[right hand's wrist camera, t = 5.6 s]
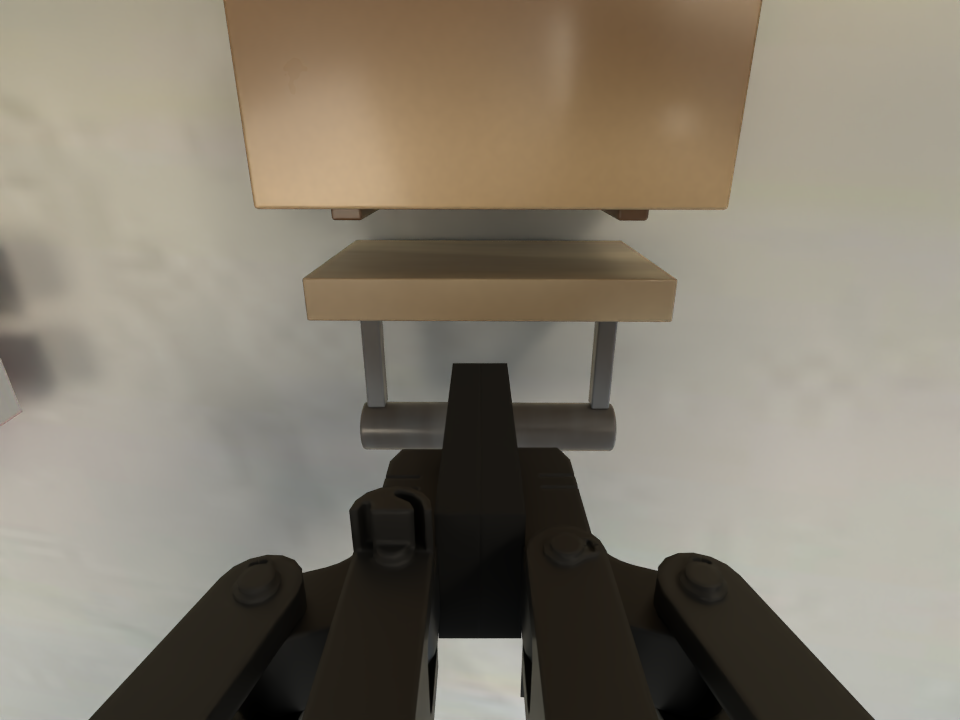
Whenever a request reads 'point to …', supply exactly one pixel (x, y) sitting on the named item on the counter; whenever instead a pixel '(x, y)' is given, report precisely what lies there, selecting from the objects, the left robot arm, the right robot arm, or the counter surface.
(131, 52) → the counter surface
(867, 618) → the counter surface
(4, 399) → the toy
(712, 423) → the counter surface
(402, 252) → the drawer
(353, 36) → the wooden drawer box
